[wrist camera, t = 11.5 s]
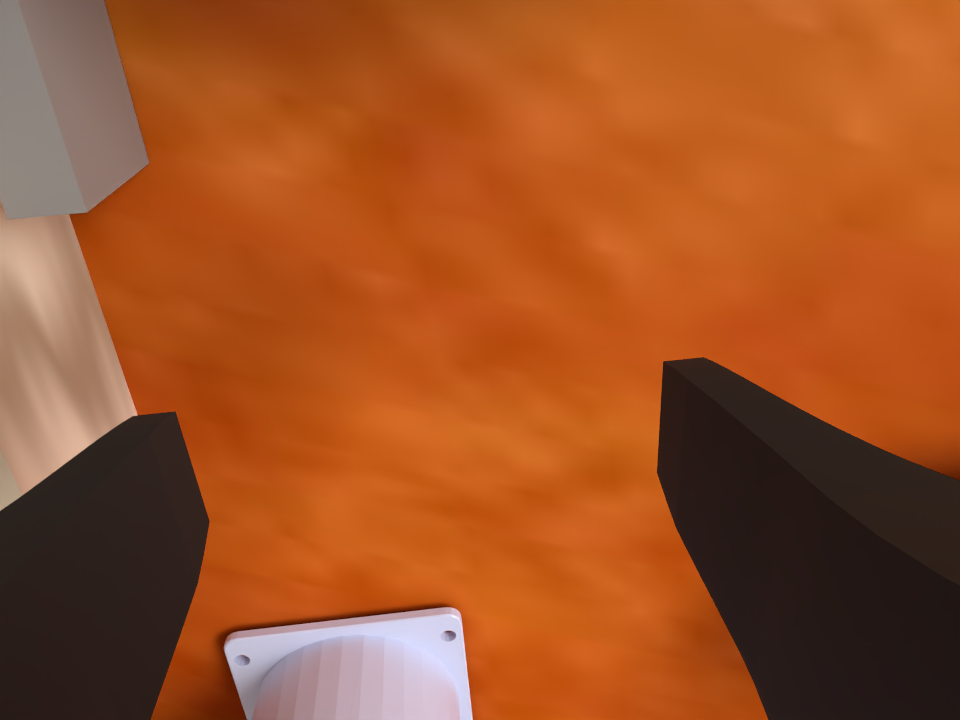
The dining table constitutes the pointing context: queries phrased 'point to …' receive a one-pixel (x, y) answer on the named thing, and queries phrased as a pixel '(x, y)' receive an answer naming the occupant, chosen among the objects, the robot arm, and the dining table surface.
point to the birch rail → (51, 354)
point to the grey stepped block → (63, 109)
